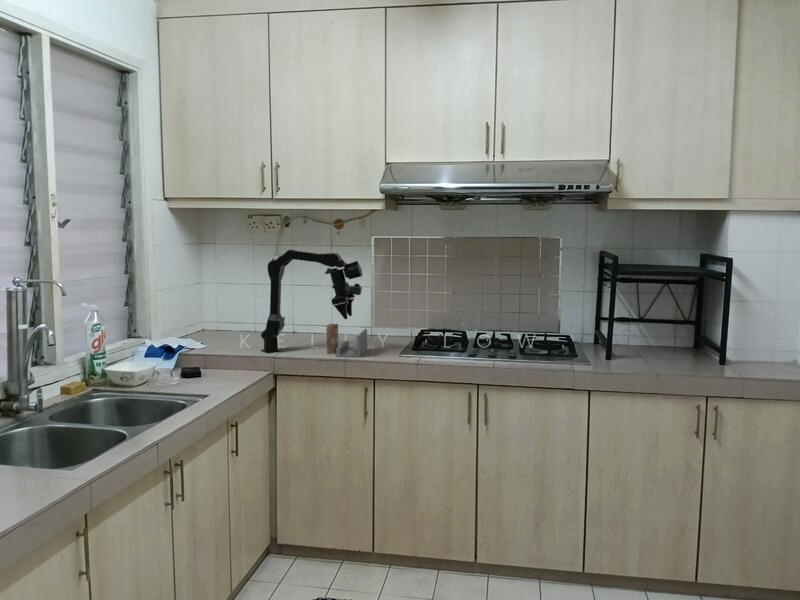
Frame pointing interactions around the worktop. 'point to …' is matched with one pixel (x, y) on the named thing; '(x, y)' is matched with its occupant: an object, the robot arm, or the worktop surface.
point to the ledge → (353, 351)
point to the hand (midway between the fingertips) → (348, 317)
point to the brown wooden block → (332, 338)
